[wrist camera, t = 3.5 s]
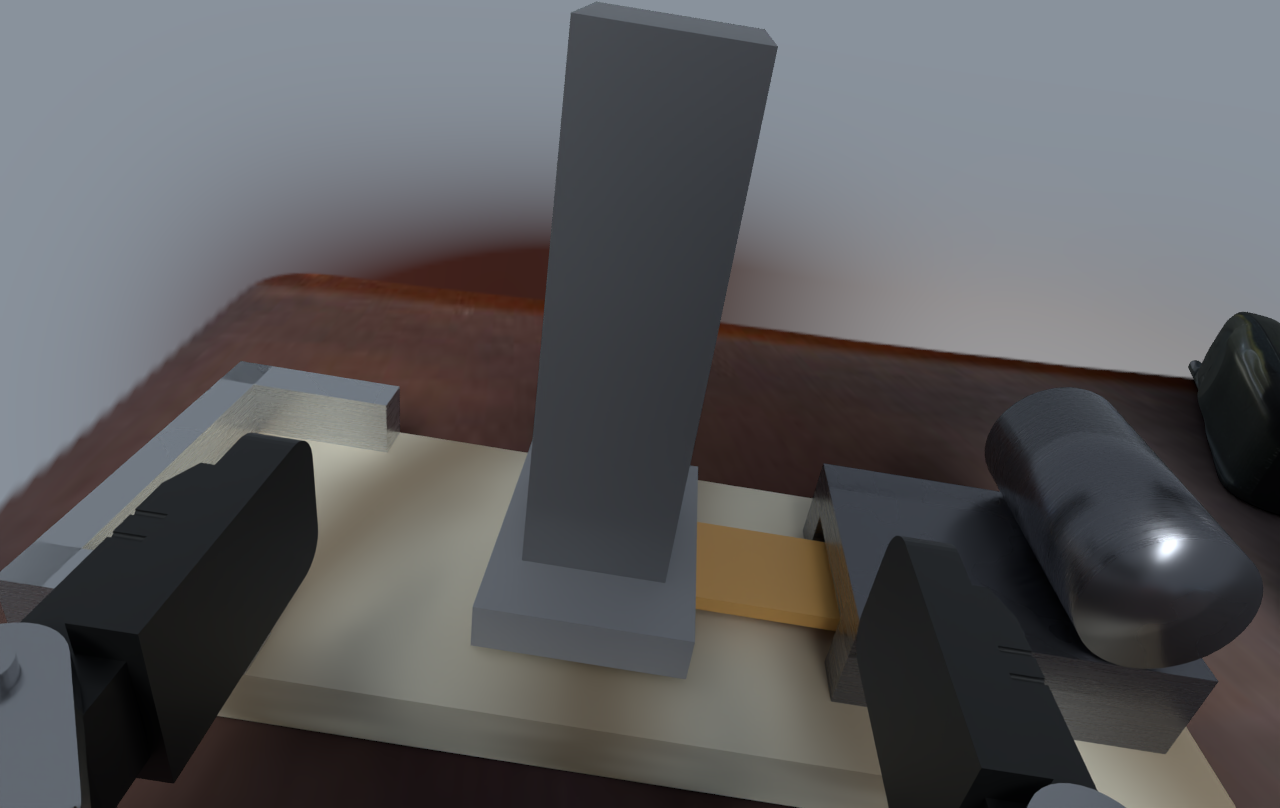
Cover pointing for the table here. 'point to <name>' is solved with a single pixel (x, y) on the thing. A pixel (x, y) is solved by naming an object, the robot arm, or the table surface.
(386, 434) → the bracket
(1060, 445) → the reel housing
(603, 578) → the strap handle
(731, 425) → the table surface
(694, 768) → the rail board
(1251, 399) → the dark green rounded bar
